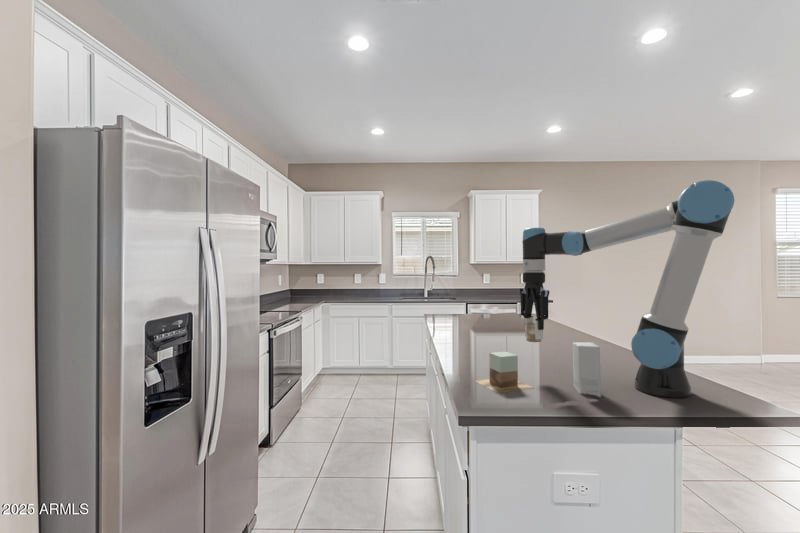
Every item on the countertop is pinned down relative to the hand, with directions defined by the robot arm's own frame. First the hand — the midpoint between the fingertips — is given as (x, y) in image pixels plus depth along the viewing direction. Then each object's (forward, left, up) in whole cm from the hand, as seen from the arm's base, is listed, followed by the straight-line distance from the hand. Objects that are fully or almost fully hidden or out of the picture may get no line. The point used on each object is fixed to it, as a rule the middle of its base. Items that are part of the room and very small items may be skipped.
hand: (533, 337), depth 139 cm
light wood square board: (-4, +15, -15) cm, 22 cm away
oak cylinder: (0, 0, -1) cm, 1 cm away
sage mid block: (-4, +15, -9) cm, 18 cm away
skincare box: (-18, -6, -15) cm, 24 cm away
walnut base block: (-4, +15, -14) cm, 21 cm away
